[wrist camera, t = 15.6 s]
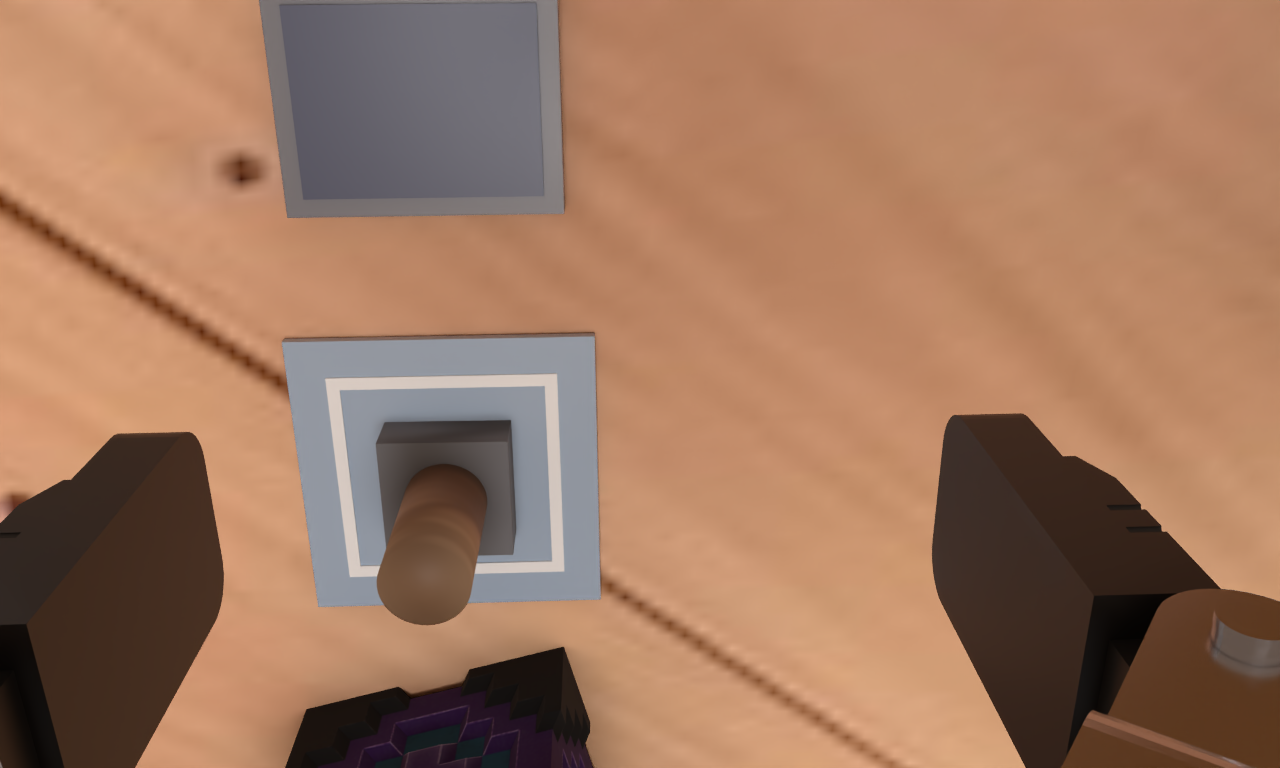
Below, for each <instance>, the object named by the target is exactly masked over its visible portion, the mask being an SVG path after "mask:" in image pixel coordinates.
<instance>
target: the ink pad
mask: <svg viewBox="0 0 1280 768" xmlns="http://www.w3.org/2000/svg"><path fill="white" fill-rule="evenodd" d="M259 4H260V11H261V19H262V27H263V34H264V42H265V50H266V57H267V65H268V73H269V80H270V88H271V96H272V103H273V111H274V119H275V126H276V134H277V142H278V149H279V157H280V165H281V172H282V180H283V188H284V195H285V203H286V211H287V218H311V217H378V216H445V215H512V214H564V211H565V196H564V165H563V134H562V103H561V72H560V41H559V10H558V0H259Z"/></svg>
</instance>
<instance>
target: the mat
mask: <svg viewBox="0 0 1280 768" xmlns="http://www.w3.org/2000/svg"><path fill="white" fill-rule="evenodd" d="M282 347H283V355H284V362H285V369H286V376H287V383H288V391H289V398H290V405H291V412H292V420H293V427H294V434H295V441H296V448H297V456H298V463H299V470H300V477H301V485H302V492H303V499H304V506H305V513H306V521H307V528H308V535H309V542H310V549H311V557H312V564H313V571H314V578H315V586H316V593H317V600H318V607H335V606H373V605H384V604H383V603H382V601H381V599H380V597H379V594H378V591H377V575H378V571H379V568H380V565H381V562H382V559H383V556H384V553H385V550H386V542H385V532H384V522H383V513H382V503H381V493H380V483H379V473H378V463H377V454H376V442H377V439H378V437H379V434H380V432H381V430H382V427H383V425H384V423H385V422H423V421H485V420H511V428H512V449H513V469H514V489H515V510H516V537H515V545H514V553H513V555H484V556H478V558H477V563H476V569H475V574H474V579H473V585H472V590H471V595H470V598H469V601H468V603H485V602H522V601H560V600H597V599H601V594H600V550H599V506H598V462H597V419H596V375H595V333H565V334H512V335H458V336H404V337H350V338H296V339H284V340H283V341H282Z"/></svg>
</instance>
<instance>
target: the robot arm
mask: <svg viewBox="0 0 1280 768" xmlns="http://www.w3.org/2000/svg"><path fill="white" fill-rule="evenodd" d="M932 563H933V573H934V580H935V585H936V589H937V593H938V596H939V599H940V601H941V603H942V605H943V607H944V609H945V611H946V613H947V615H948V617H949V619H950V621H951V623H952V625H953V627H954V629H955V630H956V632H957V634H958V636H959V638H960V640H961V642H962V644H963V646H964V648H965V650H966V652H967V654H968V656H969V658H970V660H971V662H972V664H973V666H974V668H975V669H976V671H977V673H978V675H979V677H980V679H981V681H982V683H983V685H984V687H985V689H986V691H987V693H988V695H989V697H990V699H991V701H992V703H993V705H994V707H995V708H996V710H997V712H998V714H999V716H1000V718H1001V720H1002V722H1003V724H1004V726H1005V728H1006V730H1007V732H1008V734H1009V736H1010V738H1011V740H1012V742H1013V744H1014V746H1015V747H1016V749H1017V751H1018V753H1019V755H1020V757H1021V759H1022V761H1023V763H1024V765H1025V767H1026V768H1280V601H1276V600H1273V599H1270V598H1267V597H1264V596H1260V595H1256V594H1252V593H1247V592H1241V591H1235V590H1226V589H1221V588H1220V587H1219V586H1218V585H1217V584H1216V583H1215V582H1214V581H1213V580H1212V579H1211V578H1210V577H1209V576H1208V575H1207V574H1206V573H1205V572H1204V571H1203V569H1202V568H1201V567H1200V566H1199V565H1198V564H1197V563H1196V562H1195V561H1194V560H1193V559H1192V558H1191V557H1190V556H1189V555H1188V554H1187V553H1186V552H1185V550H1184V549H1183V548H1182V547H1181V546H1180V545H1179V544H1178V543H1177V542H1176V541H1175V540H1174V539H1173V538H1172V537H1171V536H1170V535H1169V534H1168V533H1167V532H1162V530H1161V525H1160V524H1159V523H1158V522H1157V521H1156V520H1155V519H1154V518H1153V517H1152V516H1151V515H1150V514H1149V512H1148V511H1147V510H1141V504H1140V503H1139V502H1138V501H1137V500H1136V499H1135V498H1134V497H1133V496H1132V495H1131V493H1130V492H1129V491H1128V490H1127V489H1126V488H1125V487H1124V486H1123V485H1122V484H1121V483H1120V482H1119V481H1118V480H1117V479H1116V478H1115V477H1113V476H1111V475H1109V474H1107V473H1106V472H1104V471H1102V470H1100V469H1098V468H1096V467H1094V466H1093V465H1091V464H1089V463H1087V462H1085V461H1083V460H1082V459H1080V458H1078V457H1076V456H1062V455H1061V454H1060V453H1059V452H1058V450H1057V449H1056V448H1055V447H1054V446H1053V445H1052V444H1051V443H1050V441H1049V440H1048V439H1047V438H1046V437H1045V436H1044V435H1043V434H1042V432H1041V431H1040V430H1039V429H1038V428H1037V427H1036V426H1035V424H1034V423H1033V422H1032V421H1031V420H1030V419H1029V418H1028V417H1027V416H1026V415H1024V414H981V415H954V416H952V417H951V418H950V419H949V421H948V423H947V426H946V429H945V434H944V440H943V448H942V457H941V467H940V476H939V486H938V495H937V505H936V514H935V524H934V533H933V544H932ZM223 583H224V571H223V561H222V555H221V549H220V544H219V538H218V532H217V527H216V521H215V516H214V510H213V504H212V499H211V493H210V488H209V482H208V476H207V471H206V465H205V460H204V455H203V451H202V448H201V445H200V443H199V441H198V439H197V438H196V436H195V435H194V434H192V433H190V432H172V433H130V434H116V435H114V436H113V437H112V438H110V439H109V441H108V442H107V443H106V444H105V445H104V446H103V447H102V448H101V449H100V450H99V451H98V452H97V453H96V454H95V455H94V456H93V457H92V458H91V459H90V461H89V462H88V463H87V464H86V465H85V466H84V467H83V468H82V469H81V470H80V471H79V472H78V473H77V474H76V475H75V476H74V477H73V478H72V479H71V480H63V481H61V482H59V483H57V484H56V485H54V486H52V487H50V488H48V489H47V490H45V491H43V492H41V493H39V494H38V495H36V496H34V497H32V498H30V499H29V500H27V501H25V502H23V503H21V504H19V505H18V506H17V507H16V508H15V509H14V510H13V511H12V512H11V513H10V514H9V515H8V516H7V517H6V518H5V519H4V520H3V521H2V522H1V523H0V768H135V767H136V765H137V763H138V761H139V759H140V758H141V756H142V754H143V752H144V750H145V749H146V747H147V745H148V743H149V741H150V739H151V738H152V736H153V734H154V732H155V730H156V728H157V727H158V725H159V723H160V721H161V719H162V718H163V716H164V714H165V712H166V710H167V708H168V707H169V705H170V703H171V701H172V699H173V698H174V696H175V694H176V692H177V690H178V688H179V687H180V685H181V683H182V681H183V679H184V678H185V676H186V674H187V672H188V670H189V668H190V667H191V665H192V663H193V661H194V659H195V657H196V656H197V654H198V652H199V650H200V648H201V647H202V645H203V643H204V641H205V639H206V637H207V636H208V634H209V632H210V630H211V628H212V627H213V625H214V623H215V621H216V619H217V616H218V613H219V610H220V606H221V601H222V595H223Z"/></svg>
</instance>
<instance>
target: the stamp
mask: <svg viewBox="0 0 1280 768" xmlns="http://www.w3.org/2000/svg"><path fill="white" fill-rule="evenodd" d="M376 454H377V463H378V473H379V483H380V493H381V503H382V513H383V522H384V532H385V542H386V550H385V553H384V556H383V559H382V562H381V565H380V568H379V571H378V575H377V591H378V594H379V597H380V599H381V601H382V603H383V604H384V605H385V607H386V608H387V609H388V610H389V611H390V612H391V613H392V614H394V615H395V616H397V617H398V618H400V619H402V620H404V621H407V622H409V623H413V624H419V625H435V624H440V623H443V622H446V621H448V620H450V619H452V618H454V617H455V616H457V615H458V614H459V613H460V612H461V611H462V610H463V609H464V608H465V606H466V605H467V603H468V601H469V598H470V595H471V590H472V585H473V579H474V574H475V569H476V563H477V558H478V556H484V555H513V553H514V545H515V537H516V510H515V489H514V469H513V449H512V428H511V420H485V421H423V422H385V423H384V425H383V427H382V430H381V432H380V434H379V437H378V439H377V442H376Z"/></svg>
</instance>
